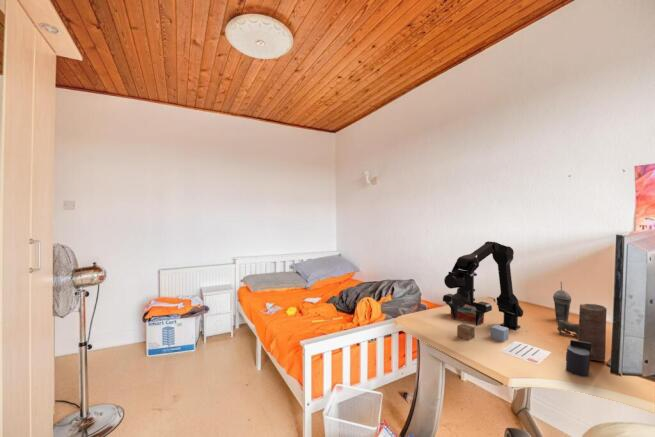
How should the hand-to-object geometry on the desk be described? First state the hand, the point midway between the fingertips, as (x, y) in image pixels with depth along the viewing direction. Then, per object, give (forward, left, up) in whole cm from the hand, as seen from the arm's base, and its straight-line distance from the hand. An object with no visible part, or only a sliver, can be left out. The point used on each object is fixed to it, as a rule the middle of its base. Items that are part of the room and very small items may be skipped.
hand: (465, 322), depth 116 cm
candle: (-21, +36, -7) cm, 42 cm away
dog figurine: (-43, +27, -7) cm, 51 cm away
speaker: (-4, +36, -7) cm, 37 cm away
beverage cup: (-63, +18, -7) cm, 66 cm away
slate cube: (-11, +9, -7) cm, 16 cm away
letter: (-6, +20, -7) cm, 22 cm away
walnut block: (0, 0, -7) cm, 7 cm away
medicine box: (-25, -11, -7) cm, 28 cm away
